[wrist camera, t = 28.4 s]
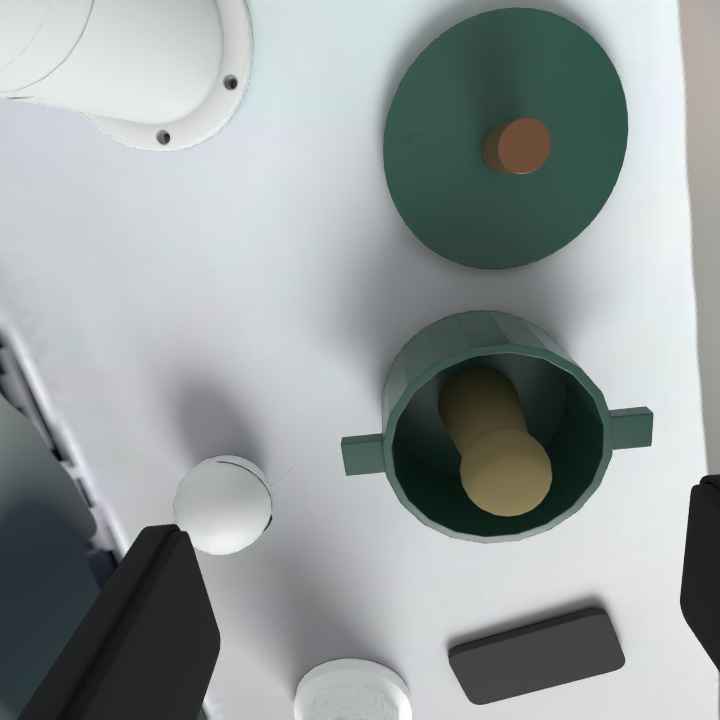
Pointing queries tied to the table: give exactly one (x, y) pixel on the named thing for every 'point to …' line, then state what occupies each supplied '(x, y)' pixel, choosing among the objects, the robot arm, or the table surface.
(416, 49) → the table surface
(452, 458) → the pot
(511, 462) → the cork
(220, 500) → the white rounded upright piece
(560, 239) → the lid
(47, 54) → the robot arm
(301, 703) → the decorative container
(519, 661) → the phone
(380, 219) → the table surface
